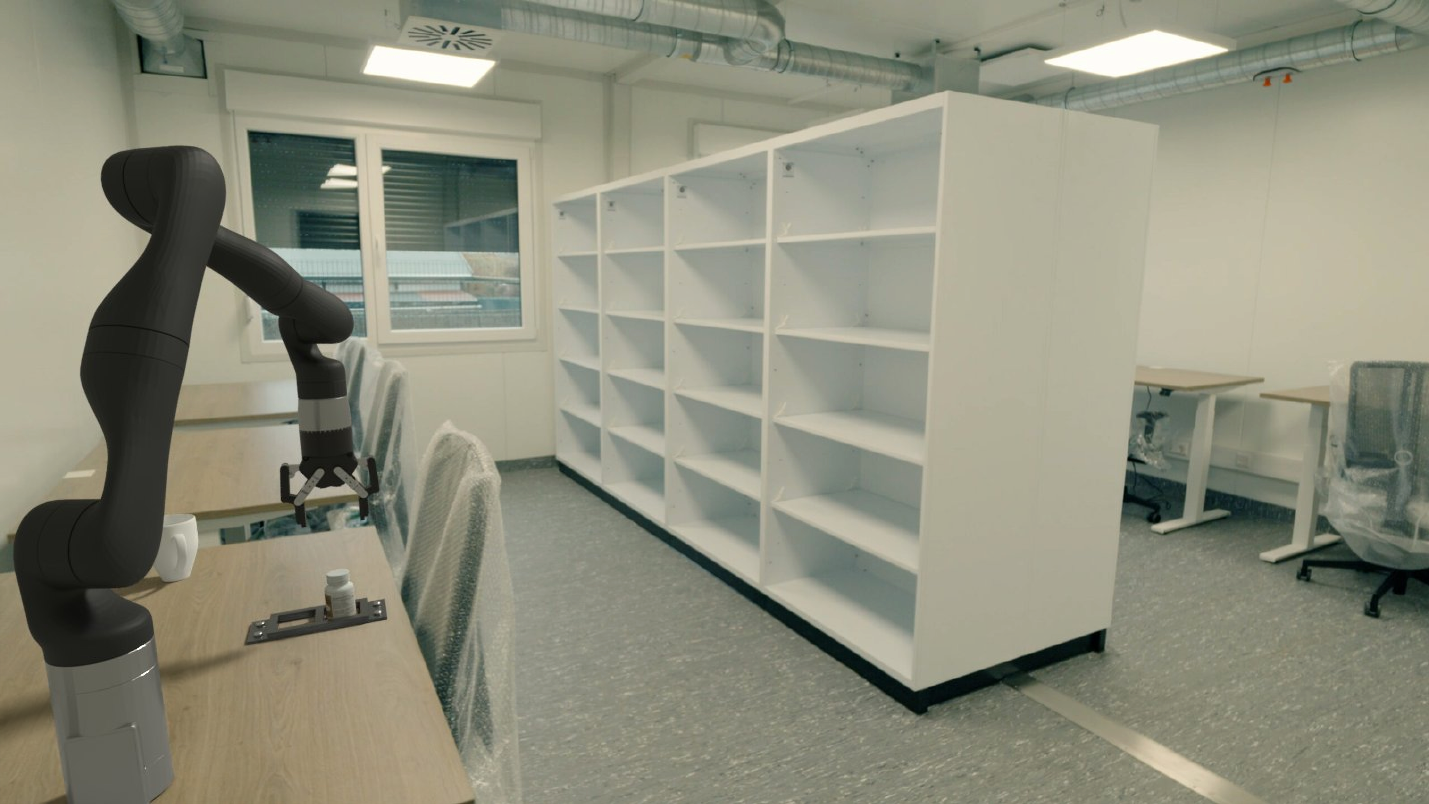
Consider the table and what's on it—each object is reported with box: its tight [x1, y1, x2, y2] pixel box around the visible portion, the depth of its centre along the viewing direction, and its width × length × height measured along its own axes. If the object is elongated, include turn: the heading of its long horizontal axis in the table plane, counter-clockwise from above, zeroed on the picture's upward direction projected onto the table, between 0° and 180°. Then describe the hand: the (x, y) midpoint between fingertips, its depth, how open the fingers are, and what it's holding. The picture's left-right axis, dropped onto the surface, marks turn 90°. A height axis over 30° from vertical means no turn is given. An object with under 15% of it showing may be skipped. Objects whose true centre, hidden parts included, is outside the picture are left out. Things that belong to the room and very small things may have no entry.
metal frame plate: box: [246, 597, 388, 646], centre depth 126 cm, size 8×20×1 cm, turn 116°
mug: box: [152, 513, 199, 583], centre depth 143 cm, size 12×8×11 cm
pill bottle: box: [324, 568, 356, 620], centre depth 127 cm, size 4×4×8 cm
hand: (333, 522), depth 125 cm, fingers open, 8 cm apart
